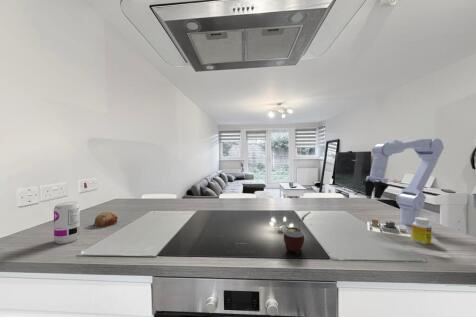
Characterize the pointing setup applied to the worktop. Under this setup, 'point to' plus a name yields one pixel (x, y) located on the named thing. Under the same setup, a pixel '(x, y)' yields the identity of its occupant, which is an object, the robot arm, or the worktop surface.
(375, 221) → the tan block
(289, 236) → the mate gourd
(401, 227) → the grey rocker switch
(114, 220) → the bread roll
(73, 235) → the supplement can
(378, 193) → the robot arm
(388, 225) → the black push button
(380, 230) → the switch board
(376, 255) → the worktop surface
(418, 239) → the supplement bottle
